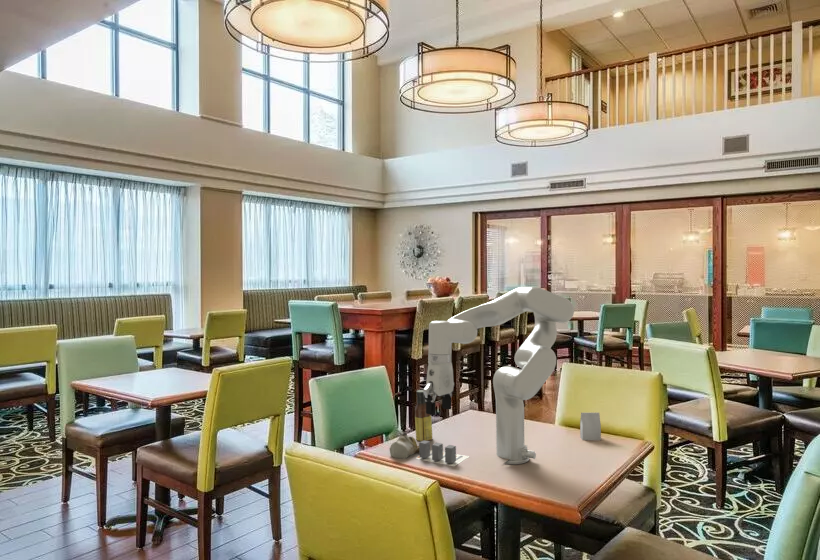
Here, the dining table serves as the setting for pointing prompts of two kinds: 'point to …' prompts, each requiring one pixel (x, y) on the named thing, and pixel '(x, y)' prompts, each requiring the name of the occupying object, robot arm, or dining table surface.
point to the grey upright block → (590, 426)
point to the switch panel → (458, 459)
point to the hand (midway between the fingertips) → (438, 411)
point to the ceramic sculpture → (404, 447)
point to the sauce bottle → (422, 419)
